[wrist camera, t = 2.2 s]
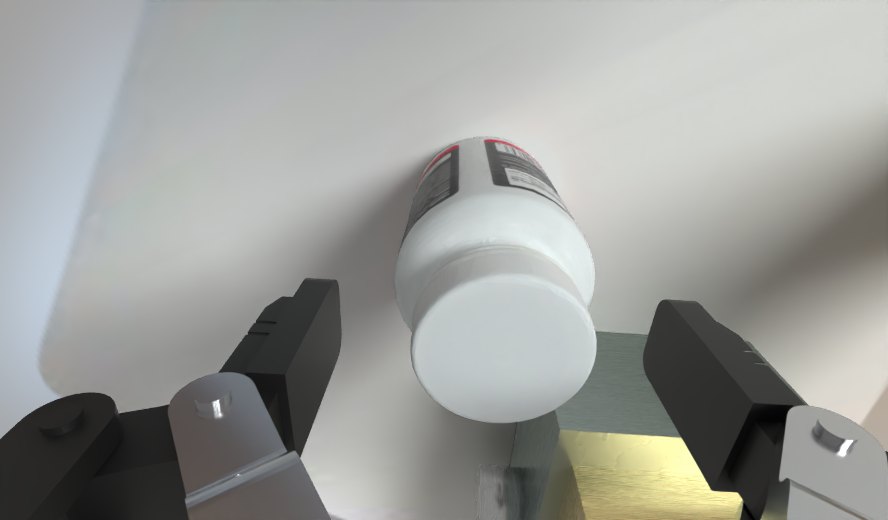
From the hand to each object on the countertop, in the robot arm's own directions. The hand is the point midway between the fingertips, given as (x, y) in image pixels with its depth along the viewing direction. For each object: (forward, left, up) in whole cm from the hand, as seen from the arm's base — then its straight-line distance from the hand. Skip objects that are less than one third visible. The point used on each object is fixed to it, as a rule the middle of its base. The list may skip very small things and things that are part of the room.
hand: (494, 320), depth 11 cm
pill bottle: (0, 0, -8) cm, 8 cm away
